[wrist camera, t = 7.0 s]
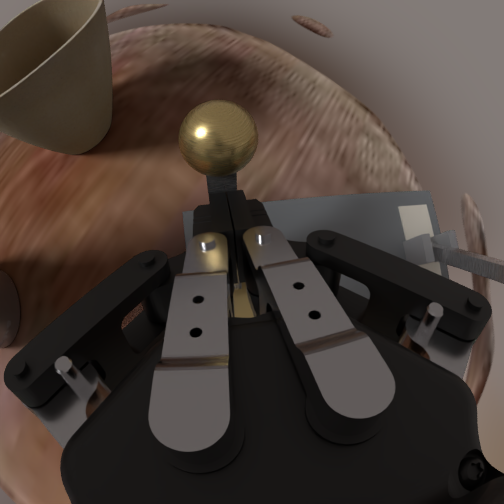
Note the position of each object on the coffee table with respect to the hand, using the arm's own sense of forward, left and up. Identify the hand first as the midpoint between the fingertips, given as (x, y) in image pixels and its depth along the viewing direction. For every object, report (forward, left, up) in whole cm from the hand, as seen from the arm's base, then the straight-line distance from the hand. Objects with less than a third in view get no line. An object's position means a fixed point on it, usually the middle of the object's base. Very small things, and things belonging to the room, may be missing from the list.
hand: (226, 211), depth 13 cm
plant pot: (-23, +2, -14) cm, 27 cm away
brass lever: (+2, -2, -9) cm, 9 cm away
